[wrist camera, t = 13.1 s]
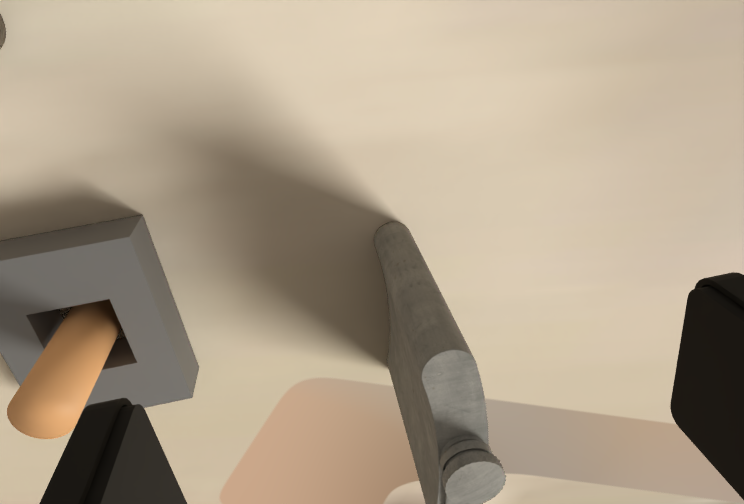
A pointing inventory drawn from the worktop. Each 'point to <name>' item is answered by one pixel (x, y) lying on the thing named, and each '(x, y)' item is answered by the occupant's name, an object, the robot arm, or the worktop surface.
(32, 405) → the long pin
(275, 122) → the worktop surface
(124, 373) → the hole block
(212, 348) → the worktop surface
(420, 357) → the hip flask
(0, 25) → the short pin
